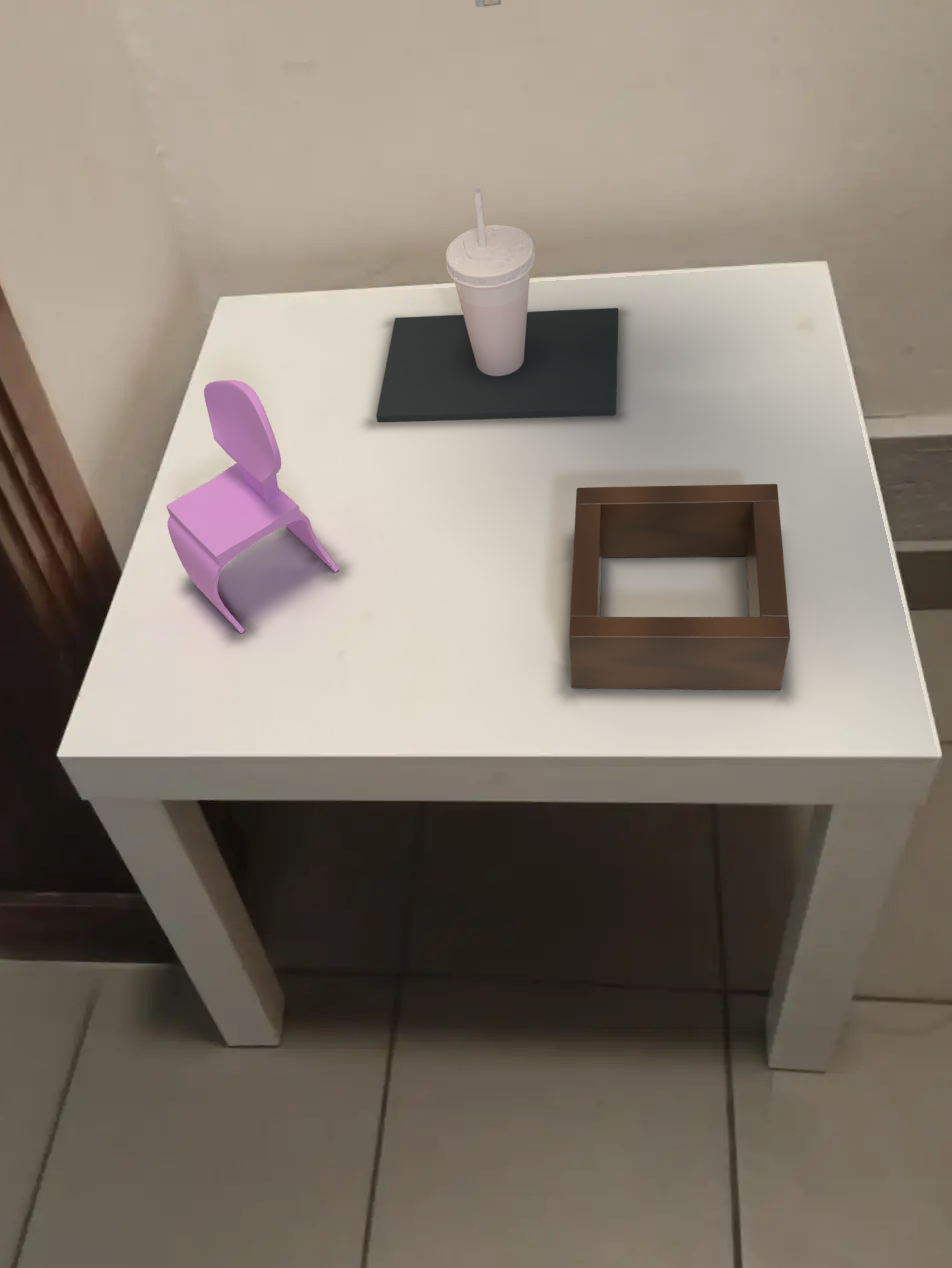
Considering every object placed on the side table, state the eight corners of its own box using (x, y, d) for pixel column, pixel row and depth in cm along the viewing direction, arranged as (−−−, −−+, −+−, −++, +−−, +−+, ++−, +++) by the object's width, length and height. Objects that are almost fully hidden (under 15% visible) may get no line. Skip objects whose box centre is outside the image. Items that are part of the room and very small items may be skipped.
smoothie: (492, 325, 97) (475, 158, 86) (558, 350, 94) (550, 181, 83) (442, 370, 95) (418, 205, 84) (508, 397, 92) (493, 230, 81)
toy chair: (180, 579, 86) (110, 414, 74) (282, 516, 89) (230, 345, 76) (242, 646, 82) (178, 481, 70) (348, 577, 84) (303, 406, 72)
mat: (618, 313, 97) (618, 307, 96) (615, 415, 90) (615, 408, 90) (396, 323, 100) (394, 317, 100) (377, 422, 93) (375, 416, 93)
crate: (769, 538, 81) (777, 483, 77) (780, 690, 74) (790, 637, 70) (578, 540, 83) (576, 487, 79) (571, 688, 76) (569, 637, 72)
